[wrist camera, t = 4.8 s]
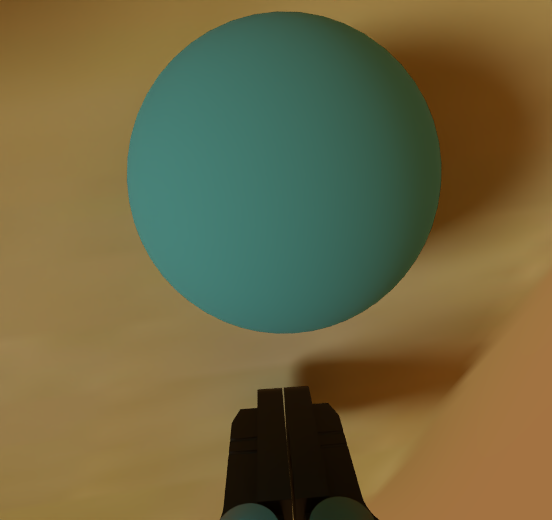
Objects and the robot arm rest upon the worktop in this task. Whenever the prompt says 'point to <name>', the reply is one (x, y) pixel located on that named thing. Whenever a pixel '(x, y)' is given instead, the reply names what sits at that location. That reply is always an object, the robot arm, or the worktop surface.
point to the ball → (284, 172)
